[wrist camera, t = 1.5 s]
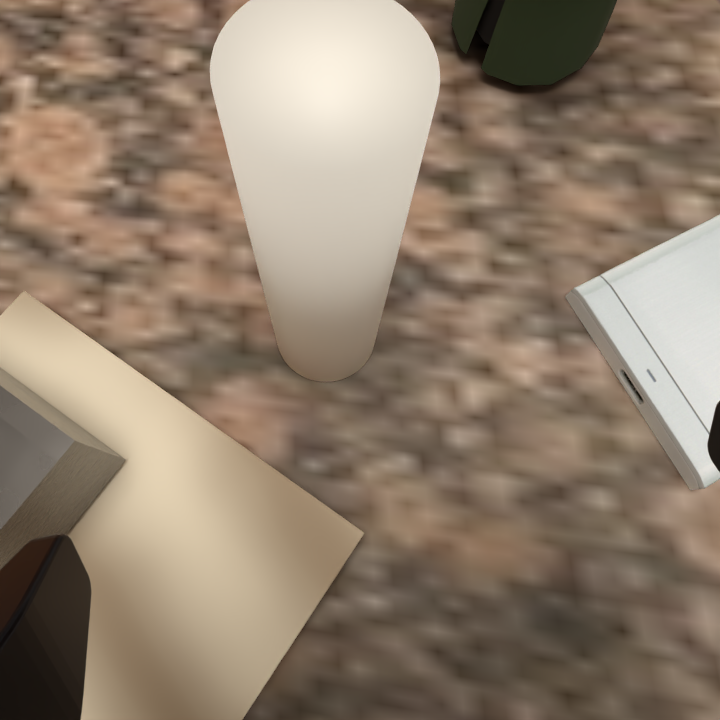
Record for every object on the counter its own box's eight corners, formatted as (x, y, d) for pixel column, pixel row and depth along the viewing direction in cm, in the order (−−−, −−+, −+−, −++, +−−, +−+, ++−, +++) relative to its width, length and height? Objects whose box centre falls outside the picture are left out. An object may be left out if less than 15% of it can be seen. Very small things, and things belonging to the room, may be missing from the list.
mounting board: (97, 936, 17) (81, 966, 16) (-261, 630, 18) (-301, 636, 17) (362, 532, 20) (364, 532, 19) (39, 303, 22) (23, 290, 21)
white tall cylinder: (338, 401, 21) (355, 213, 9) (256, 345, 22) (161, 88, 9) (394, 322, 22) (482, 51, 10) (314, 270, 23) (300, -55, 10)
